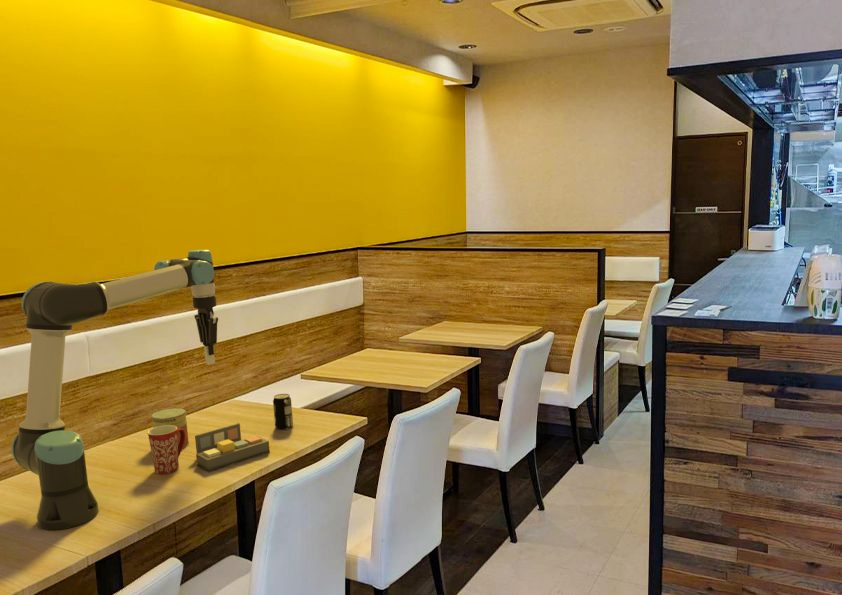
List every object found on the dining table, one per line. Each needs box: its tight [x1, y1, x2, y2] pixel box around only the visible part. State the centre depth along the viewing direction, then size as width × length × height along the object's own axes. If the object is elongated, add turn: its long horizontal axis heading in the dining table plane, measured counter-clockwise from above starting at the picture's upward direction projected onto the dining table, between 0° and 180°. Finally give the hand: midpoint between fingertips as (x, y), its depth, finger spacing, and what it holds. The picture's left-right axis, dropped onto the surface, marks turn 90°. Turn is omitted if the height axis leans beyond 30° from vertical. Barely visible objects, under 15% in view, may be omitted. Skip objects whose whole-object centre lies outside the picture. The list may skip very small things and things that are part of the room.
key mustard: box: [217, 439, 235, 453], centre depth 232 cm, size 4×4×4 cm
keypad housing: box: [195, 435, 270, 473], centre depth 235 cm, size 22×8×4 cm, turn 133°
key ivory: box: [203, 448, 221, 458], centre depth 229 cm, size 4×4×4 cm
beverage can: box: [272, 393, 294, 430], centre depth 264 cm, size 7×7×12 cm
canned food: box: [151, 407, 190, 450], centre depth 250 cm, size 11×11×12 cm
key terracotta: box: [244, 435, 262, 445], centre depth 239 cm, size 4×4×4 cm
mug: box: [147, 425, 185, 475], centre depth 229 cm, size 13×9×14 cm
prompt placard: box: [194, 422, 242, 454], centre depth 242 cm, size 16×1×8 cm, turn 133°
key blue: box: [234, 439, 248, 449], centre depth 236 cm, size 4×4×4 cm
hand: (210, 363), depth 244 cm, fingers closed
